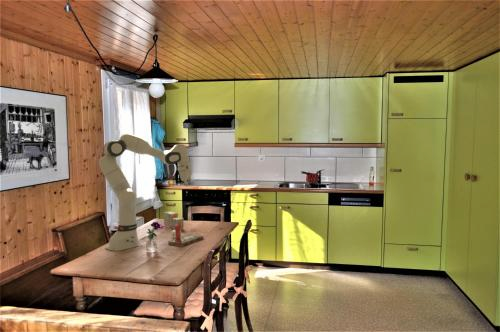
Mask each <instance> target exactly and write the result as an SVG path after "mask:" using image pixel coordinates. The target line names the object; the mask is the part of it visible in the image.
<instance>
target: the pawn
mask: <svg viewBox="0 0 500 332" xmlns="http://www.w3.org/2000/svg"><path fill="white" fill-rule="evenodd" d="M180 229H181V227H180V225H176V226H175V234H176V238H174V239H175V242H181V239H180Z"/></svg>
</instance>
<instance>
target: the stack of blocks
mask: <svg viewBox="0 0 500 332" xmlns="http://www.w3.org/2000/svg"><path fill="white" fill-rule="evenodd" d="M163 223H164V226H165V227H164V228H166V227H167V228H166V229H169V228H170V229H169V230H171V231H173V230H175V226H176V225H180V227H181V229H180V230H181V231H184V229H185V228H184V217H183V218H182V217H179V214H178V213H177V212H175V211H163Z"/></svg>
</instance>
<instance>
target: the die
mask: <svg viewBox="0 0 500 332" xmlns="http://www.w3.org/2000/svg"><path fill="white" fill-rule="evenodd" d="M170 236H171V239H176V234H175V230H171V231H170ZM180 237H182V230H180Z"/></svg>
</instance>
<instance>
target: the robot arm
mask: <svg viewBox="0 0 500 332" xmlns="http://www.w3.org/2000/svg"><path fill="white" fill-rule="evenodd" d="M125 151H129V152H132V153H135V154H138V155H148V156H151V157H154V158H156V159H158V160H159V161H160V162H161V163H162V164H163V165H170V166H173V165H176V164H177V172H178V174H179V178H180V181H181V182H183V183H184V185H185V187H188V186H189V184H190V183H192V180H191V179H192V178H191V177H192V176H193V173H192V168H191V166H192V165H191V161H190V158H189V154H188V149H187V146H186V145H185V144H179V143H177V144H174V146H173V147H172V148H171V149H169V150H166V149H165V150H161V149H158V148H156V147H153V146H152V145H151V144H149V141H147V140H145V139H144V138H143V137H140V136H138V135H134V134H132V133H131V134H130V133H123V134H121V136H120V137H119V139H114V140H109V141H107V142H105V144H104V146H103V156H101V157H100V158H99V160H98V165H99V167H100V170H101V172H102V174H103V176H104V178H105V179H106V181H107V182H108V184H109V186H110V187H111V189H112V190H113V191H112V192H114V194H115V196H116V198H117V199H118V225H115V226H114V227H113V229H114V230H116V232H115V233H113V234H112V236H110V238H109V239H108V240H109V241H108V245H105V249H106V250H108V251H116V252H117V251H119V252H120V251H124V250H128V249H132V248H137V247H139V246H140V241H139V237H138V232H137V229H138V224H137V216H136V215H137V212H136V210H137V194H136V192H135V191H134V190H133V189H132V187H131V184H130V183H129V181H128V179H127V178H126V175H125V174H124V172H123V171H122V168H120V166H119V164H118V161H117V158H118V157H120V156H121V155H122V154H123V153H124V152H125Z"/></svg>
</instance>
